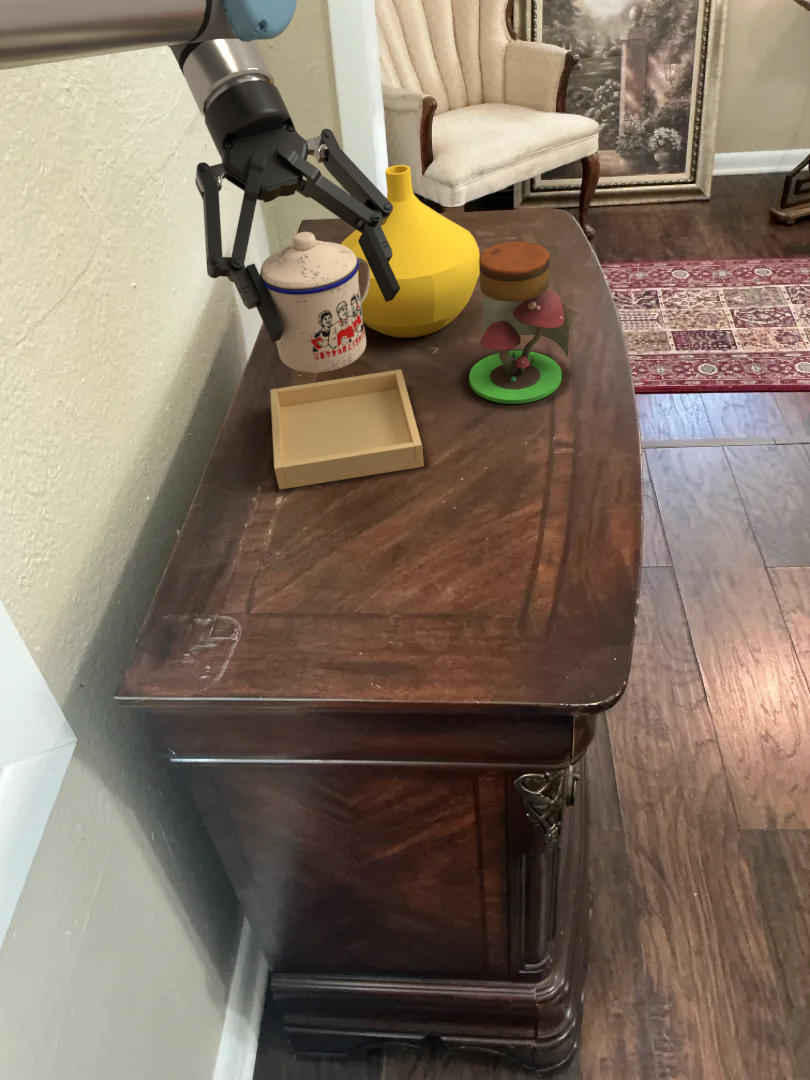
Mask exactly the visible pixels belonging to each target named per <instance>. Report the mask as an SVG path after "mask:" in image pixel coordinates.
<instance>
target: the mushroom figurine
mask: <svg viewBox="0 0 810 1080" xmlns="http://www.w3.org/2000/svg"><path fill="white" fill-rule="evenodd" d="M479 255H480V258H479V269H480V274H479V289H480V291H481V293H482V294H483V295H484V296H486V297H485V298H483V299H481V306H482V309H481V310H482V311H481V312H482V319H483V327H482V328H483V330H482V336H481V337H480V338H481V339H480V340H479V344H480V346H481V347H482V348H485V349H489V350H494V351H497V353H493V354H491V355H487V356H486V357H483V358H482V359H480V360H478V361H477V362H476V363H475V364H474V365H473V366H472V367H471V369H470V371H469V373H468V374H469V375H468V381H469V386H470V388H471V389H472V391H473V392H474V393H475V394H476V395H478V396H479V397H481V398H482V399H485V400H487V401H491V402H495V403H498V404H507V405H520V404H529V403H532V402H536V401H539V400H542V399H545V398H546V397H548V396H550V395H552V394H553V393H554V392H555V391H557V389H558V388H559V387H560V386H561V382H562V376H563V375H562V373H563V372H562V369H561V367H560V365H559V364H558V363H557V362H556V361H555V360H554V359H553V358H551V357H549V356H547V355H544V354H542V353H539V352H534V351H532V348H533V346H534V345H536V344H537V343H538V342H539V340H540V339H541V338H542V337H544V338H548V339H550V340H552V341H553V342H554V343H555V344H557V345H558V346H559V348H561V350H562V351H563V352H564V354H565V356H566V357H567V358H569V338H570V329H571V325H572V323H573V321H574V318H575V317H576V316H578V315H580V312H578V311H576V310H573V309H572V308H570V307H567V306H566V305H565V304H563V302H562V299H561V298H560V296H559V294H557V293H556V292H554V291H552V290H551V289H549V287H550V261H551V260H550V252H549V251H548V249H546V248H545V247H544V246H542V245H540V244H537V243H534V242H530V241H522V240H521V241H506V242H500V243H497V244H494V245H492V246H489V247H488V248H486V249H484V251H482V252H481V254H479ZM521 336H533V337H532V339H531V340H529V341H528V342H527V343H526V345H525V346H524V348H523V350H513V349H515V348H517V347H518V346H519V345H520V344H521V342H522V340H521Z"/></svg>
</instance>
